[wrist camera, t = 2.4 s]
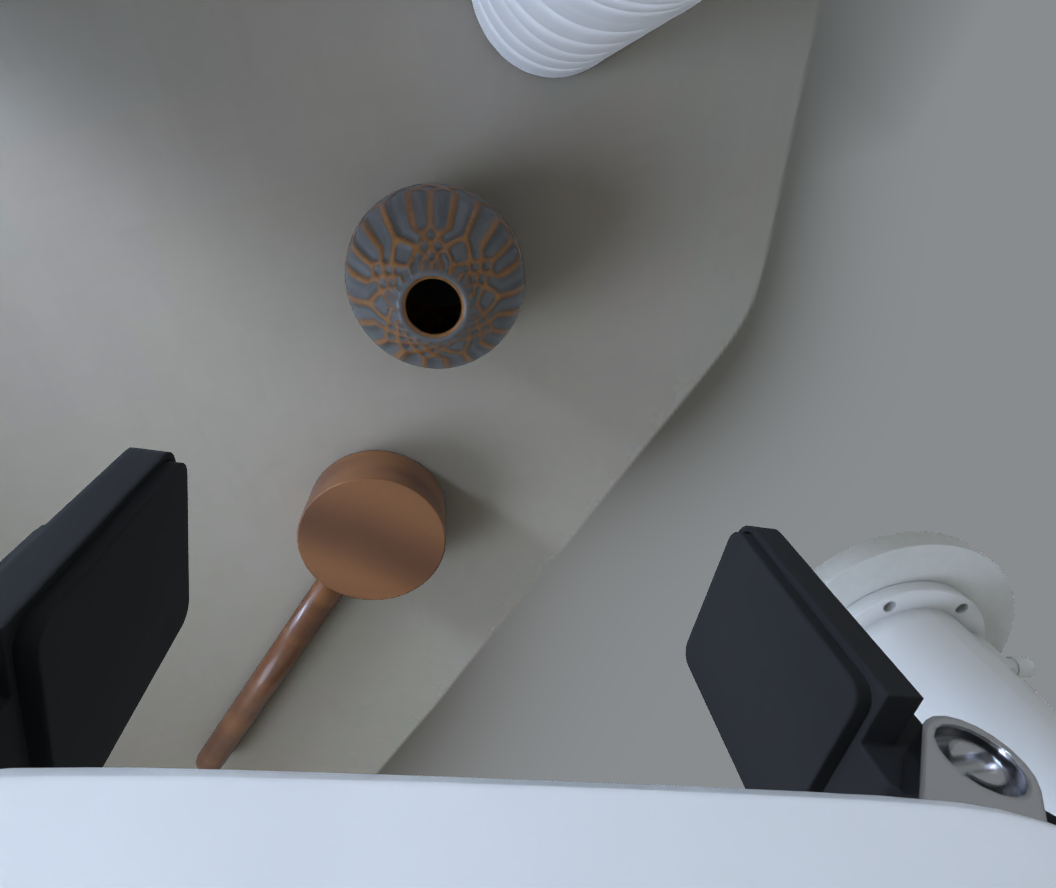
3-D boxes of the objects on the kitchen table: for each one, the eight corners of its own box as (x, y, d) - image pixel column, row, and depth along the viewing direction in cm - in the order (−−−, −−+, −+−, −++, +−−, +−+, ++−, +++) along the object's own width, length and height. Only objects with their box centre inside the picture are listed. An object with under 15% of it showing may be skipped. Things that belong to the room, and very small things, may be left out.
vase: (542, 230, 28) (580, 261, 20) (472, 363, 30) (480, 439, 22) (398, 146, 26) (375, 144, 18) (334, 296, 28) (288, 353, 20)
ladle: (351, 425, 30) (341, 452, 28) (471, 491, 33) (473, 521, 30) (153, 737, 37) (130, 782, 35) (263, 773, 40) (250, 818, 37)
